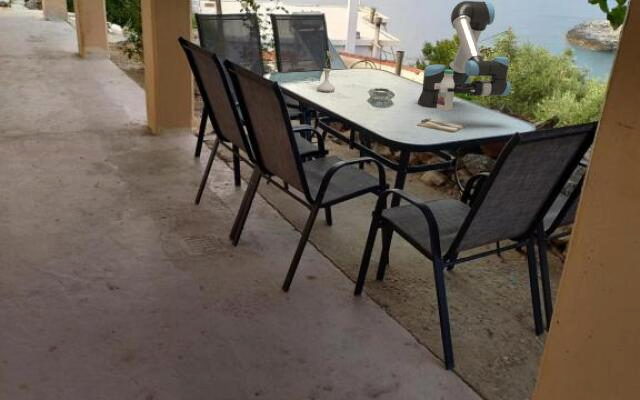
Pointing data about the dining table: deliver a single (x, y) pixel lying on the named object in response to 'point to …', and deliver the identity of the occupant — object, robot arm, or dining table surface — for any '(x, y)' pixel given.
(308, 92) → the dining table surface
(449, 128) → the clipboard
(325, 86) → the flower in vase
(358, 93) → the dining table surface
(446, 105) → the milk bottle
